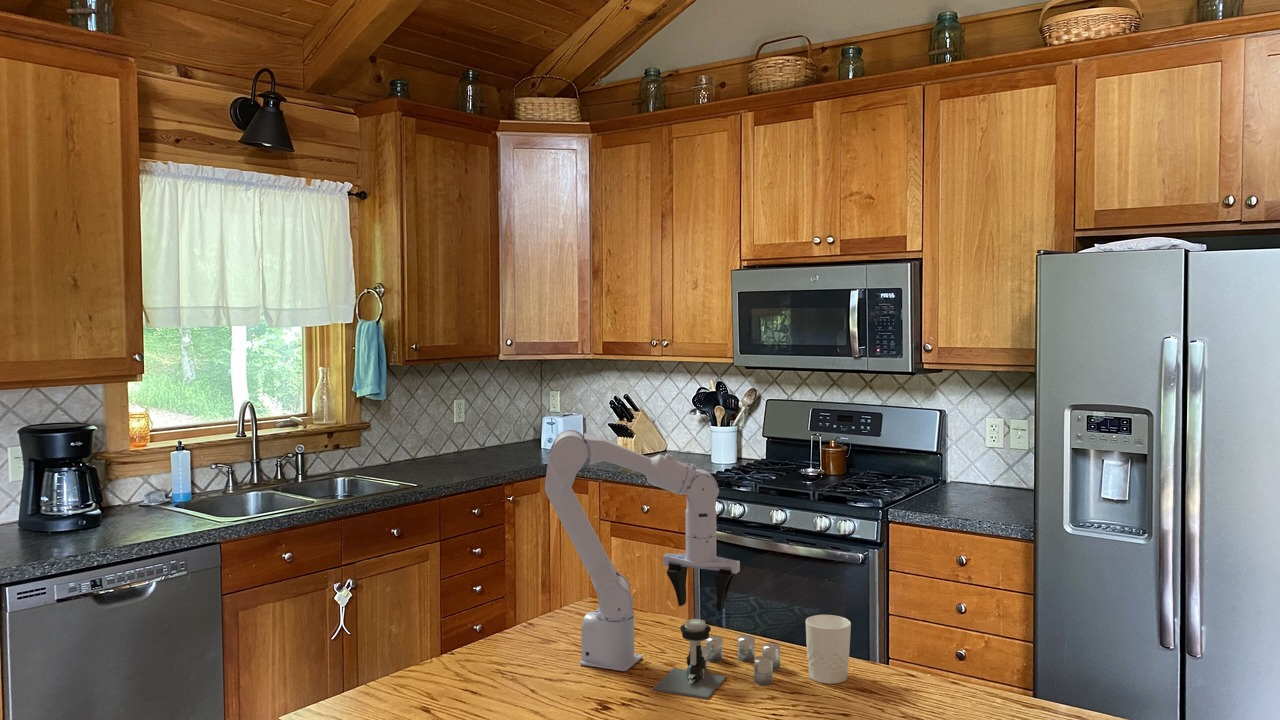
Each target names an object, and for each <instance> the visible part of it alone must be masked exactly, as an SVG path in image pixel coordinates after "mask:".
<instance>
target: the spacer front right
mask: <svg viewBox="0 0 1280 720" xmlns="http://www.w3.org/2000/svg"><path fill="white" fill-rule="evenodd" d="M753 671H754V672H753V677H754V678H753V682H754V683H755V684H756V685H759V686H769V685H772V684H773V672H774V671H773V659H772V658H770V657H766V656H762V655H760V656H755V658H754V661H753Z"/></svg>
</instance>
